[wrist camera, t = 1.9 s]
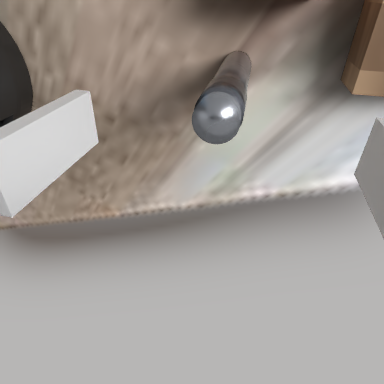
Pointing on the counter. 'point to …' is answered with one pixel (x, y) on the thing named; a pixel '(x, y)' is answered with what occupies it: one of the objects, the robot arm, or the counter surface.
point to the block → (367, 53)
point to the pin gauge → (223, 100)
